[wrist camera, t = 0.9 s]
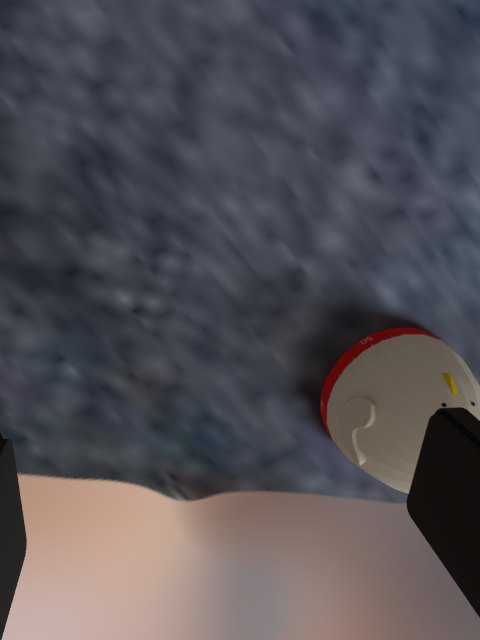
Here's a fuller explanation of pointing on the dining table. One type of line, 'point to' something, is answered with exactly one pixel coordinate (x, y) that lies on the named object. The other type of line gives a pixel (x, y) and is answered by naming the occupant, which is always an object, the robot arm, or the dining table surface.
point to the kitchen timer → (393, 399)
